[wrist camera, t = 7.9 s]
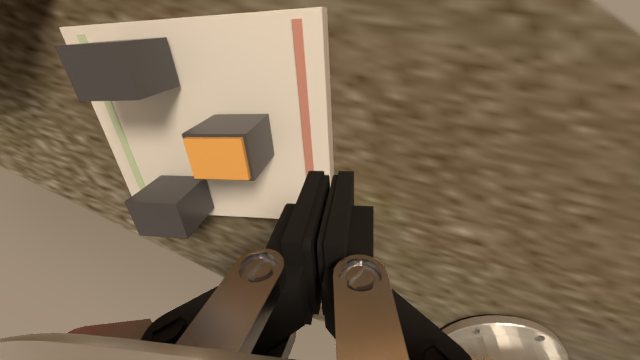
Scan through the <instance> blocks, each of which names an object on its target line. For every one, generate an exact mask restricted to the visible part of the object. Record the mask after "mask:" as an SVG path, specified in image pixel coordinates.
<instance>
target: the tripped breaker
mask: <svg viewBox="0 0 640 360" xmlns="http://www.w3.org/2000/svg"><path fill="white" fill-rule="evenodd" d="M182 137H183V142H184V146H185V149H186V152H187V155H188V159H189V162H190V165H191V169H192V172H193V175H194V179H208V180H241V181H255V180H256V178H257V177H258V176H259V174H260V173H261V172H262V170H263V169H264V168H265V166H266V165H267V164H268V162H269V161H270V160H271V158H272V157H273V156H274V148H273V141H272V134H271V127H270V120H269V114H214V115H213V116H211V117H209V118H208V119H206V120H204V121H203V122H201V123H199V124H197V125H196V126H194V127H192V128H191V129H189V130H187V131H186V132H184V133H182Z"/></svg>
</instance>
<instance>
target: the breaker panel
mask: <svg viewBox="0 0 640 360" xmlns="http://www.w3.org/2000/svg"><path fill="white" fill-rule="evenodd" d="M59 28H60V31H61V33H62V35H63V38H64V40H65V42H66V44H67V45H59V46H55V48H56V50H57V52H58V55H59V57H60V59H61V61H62V63H63V66H64V68H65V70H66V72H67V75H68V77H69V79H70V81H71V83H72V86H73V88H74V90H75V92H76V95H77V97H78V99H79V101H80V102H86V101H91V102H92V105H93V107H94V109H95V112H96V114H97V116H98V119H99V121H100V123H101V126H102V128H103V130H104V133H105V135H106V137H107V140H108V142H109V144H110V147H111V149H112V151H113V153H114V156H115V158H116V160H117V163H118V165H119V167H120V170H121V172H122V174H123V177H124V179H125V181H126V184H127V186H128V188H129V191H130V193H131V195H132V197H130V198H129V199H128V200H126V201H125V204H126V206H127V208H128V210H129V212H130V215H131V217H132V219H133V221H134V224H135V226H136V228H137V230H138V232H139V235H143V236H157V237H171V238H185V239H188V238H189V237H190V236H191V234H192V233H193V232H194V231H195V230H196V229H197V227H198V226H199V225H200V224H201V223H202V222H203V220H204V219H205V218H206V217H207V216H208V215H219V216H237V217H256V218H274V219H279V218H280V215H281V213H282V211H283V209H284V207H285V205H286V204H287V203H292V204H296V202H297V199H298V197H299V194H300V192H301V189H302V187H303V184H304V182H305V179H306V177H307V174H308V172H309V171H324V175H329V177H330V186H331V182H332V177H333V175H334V160H333V137H332V113H331V90H330V66H329V43H328V19H327V8H325V7H314V8H302V9H289V10H276V11H263V12H250V13H237V14H225V15H212V16H199V17H186V18H173V19H161V20H148V21H135V22H122V23H109V24H96V25H84V26H71V27H59ZM214 114H269V120H270V127H271V134H272V141H273V148H274V156H273V157H272V158H271V160H270V161H269V162H268V164H267V165H266V166H265V168H264V169H263V170H262V172H261V173H260V174H259V176H258V177H257V178H256V180H255V181H241V180H208V179H194V175H193V172H192V169H191V165H190V162H189V159H188V155H187V152H186V149H185V146H184V142H183V137H182V133H184V132H186V131H187V130H189V129H191V128H192V127H194V126H196V125H197V124H199V123H201V122H203V121H204V120H206V119H208V118H209V117H211V116H213V115H214Z"/></svg>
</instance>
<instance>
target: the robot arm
mask: <svg viewBox="0 0 640 360" xmlns="http://www.w3.org/2000/svg"><path fill="white" fill-rule="evenodd" d="M321 299H322V310H323V315H325V325H326V328H327V329H328V331H329V332H330V333H331V334H332V335H333V337H334V338H335V339H336V357H337V360H568V355H567V353H566V351H565V349H564V347H563V345H562V343H561V342H560V340H559V339H558V337H557V336H556V335H555V334H554V333H552V332H551V331H550V330H549V329H547V328H545V327H543V326H542V325H540V324H537V323H535V322H532V321H529V320H527V319H522V318H518V317H513V316H503V315H486V316H478V317H472V318H468V319H464V320H461V321H458V322H456V323H453V324H451V325H449V326H448V327H446V328H444V329H443V330H441V329H439V328H438V327H437V326H436V325H435V324H433V323H432V322H431V321H430V320H429V319H427V318H426V317H425V316H424V315H423V314H421V313H420V312H419V311H418V310H417V309H415V308H414V307H413V306H412V305H411V304H409V303H408V302H407V301H406V300H405V299H403V298H402V297H401V296H400V295H399V294H397V293H396V292H395V291H394V290H393V289H391V285H390V281H389V277H388V273H387V271H386V268H385V266H384V265H383V264H382V263H381V262H380V261H378V260H377V259H375V258H373V206H354V172H352V171H339V173H338V175H333V177H332V182H331V186H330V177H329V175H324V171H309V172H308V174H307V177H306V179H305V182H304V184H303V187H302V189H301V192H300V194H299V197H298V199H297V202H296V204H292V203H287V204H286V205H285V207H284V209H283V211H282V213H281V215H280V218H279V220H278V222H277V224H276V227H275V229H274V231H273V233H272V235H271V238H270V240H269V242H268V244H267V247H266V249H264V248H262V249H256V250H253V251H250V252H248V253H246V254H245V255H243V256H242V257H241V258H240V259H239V260H238V261H237V262H236V263H235V264H234V266H233V267H232V268H231V270H230V271H229V273H228V274H227V275H226V277H225V278H224V279H223V281H222V282H221V283H220V285H219V286H217V287H216V288H214V289H211V290H210V291H208V292H206V293H204V294H202V295H200V296H198V297H196V298H194V299H192V300H191V301H189V302H187V303H185V304H183V305H181V306H179V307H177V308H175V309H173V310H172V311H170V312H168V313H166V314H164V315H163V316H161V317H160V318H158V319H157V320H156V321H155V322H151V320H150V319H144V320H136V321H126V322H118V323H110V324H101V325H92V326H84V327H80V328H77V329H74V330H72V331H70V332H68V333H45V334H44V333H42V334H29V335H21V336H14V337H7V338H2V339H0V360H294V359H288V356H289V354H290V352H291V349H292V347H293V344H294V341H295V337H296V331H297V330H298V329H300V328H301V327H303V326H304V325H305V324H309V325H311V321H312V317H313V314H319V310H320V305H321Z"/></svg>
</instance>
